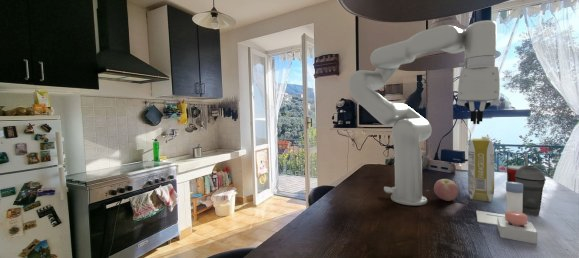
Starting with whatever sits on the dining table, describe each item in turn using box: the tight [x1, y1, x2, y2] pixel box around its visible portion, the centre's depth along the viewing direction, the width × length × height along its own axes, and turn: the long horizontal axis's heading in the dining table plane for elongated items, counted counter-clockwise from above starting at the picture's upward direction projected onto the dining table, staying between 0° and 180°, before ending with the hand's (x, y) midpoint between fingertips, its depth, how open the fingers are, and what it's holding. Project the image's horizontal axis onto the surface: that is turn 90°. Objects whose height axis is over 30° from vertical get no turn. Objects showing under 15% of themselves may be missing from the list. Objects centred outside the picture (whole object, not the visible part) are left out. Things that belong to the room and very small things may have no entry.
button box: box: [496, 217, 538, 245], centre depth 67 cm, size 7×7×3 cm
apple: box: [433, 178, 459, 202], centre depth 96 cm, size 8×8×8 cm
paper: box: [475, 210, 505, 226], centre depth 77 cm, size 12×10×1 cm
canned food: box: [506, 165, 523, 182], centre depth 99 cm, size 8×8×11 cm
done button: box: [504, 211, 528, 227], centre depth 67 cm, size 4×4×5 cm
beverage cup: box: [515, 151, 547, 217], centre depth 81 cm, size 7×7×20 cm
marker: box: [505, 181, 523, 213], centre depth 75 cm, size 4×4×11 cm
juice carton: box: [467, 135, 495, 203], centre depth 96 cm, size 9×8×24 cm
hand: (476, 123), depth 78 cm, fingers closed
